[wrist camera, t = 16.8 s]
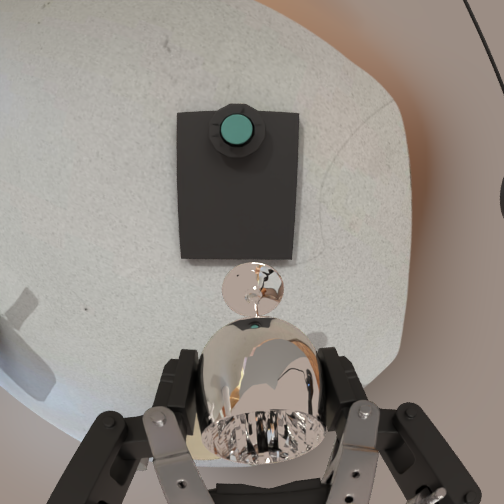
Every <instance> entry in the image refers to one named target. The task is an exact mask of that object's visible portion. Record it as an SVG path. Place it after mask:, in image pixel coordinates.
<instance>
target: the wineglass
mask: <svg viewBox="0 0 504 504" xmlns="http://www.w3.org/2000/svg"><path fill="white" fill-rule="evenodd" d="M283 293H284V284H283V281H282V278H281V276H280V275H279V273H278V272H277V271H276V270H275V269H274V268H272V267H271V266H269V265H267V264H264V263H260V262H247V263H243V264H240V265H238V266H236V267H234V268H233V269H232V270H230V271H229V272H228V274H227V275H226V276H225V278H224V281H223V284H222V296H223V299H224V301H225V303H226V304H227V306H228V307H229V308H230V309H231V310H233V311H234V312H236V313H238V314H240V315H243V316H248V317H245V318H241V319H238V320H235V321H233V322H231V323H229V324H227V325H225V326H224V327H222V328H221V329H219V330H218V331H217V332H216V333H215V334H214V335H213V336H212V337H211V338H210V340H209V341H208V342H207V344H206V345H205V347H204V349H203V351H202V353H201V356H200V359H199V361H198V364H197V369H196V375H195V405H196V413H197V419H198V424H199V429H200V434H201V439H202V443H203V445H204V446H205V448H206V449H208V450H209V451H210V452H211V453H213V454H214V455H216V456H218V457H220V458H223V459H225V460H229V461H233V462H238V463H245V464H270V463H277V462H282V461H286V460H290V459H293V458H296V457H299V456H301V455H303V454H305V453H307V452H309V451H310V450H312V449H314V448H315V447H316V446H318V444H320V442H321V441H322V440H323V438H324V436H325V434H326V424H327V390H326V382H325V375H324V370H323V367H322V364H321V360H320V357H319V355H318V353H317V351H316V349H315V347H314V346H313V344H312V342H311V341H310V340H309V339H308V337H307V336H306V335H305V334H304V333H303V332H302V331H301V330H300V329H299V328H297V327H296V326H294V325H292V324H291V323H289V322H287V321H284V320H281V319H278V318H274V317H269V316H262V315H265V314H267V313H269V312H271V311H272V310H274V309H275V308H276V307H277V306H278V304H279V303H280V302H281V300H282V297H283Z"/></svg>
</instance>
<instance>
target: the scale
mask: <svg viewBox="0 0 504 504" xmlns="http://www.w3.org/2000/svg"><path fill="white" fill-rule="evenodd" d="M236 114H238V115H243V116H245V117H246V118H248V119H249V121H250V122H251V124H252V134H251V136H250V138H249V139H248V140H247V141H246V142H245V143H242V144H231V143H229V142H228V141H226V140H225V139H224V137H223V135H222V133H221V126H222V123H223V122H224V120H225V119H226V118H227V117H229V116H231V115H236ZM298 139H299V113H288V112H271V111H257V110H256V109H254V108H252V107H250V106H248V105H247V104H229V105H227V106H225V107H223V108H221V109H219V110H218V111H198V112H182V113H177V193H178V217H179V235H180V249H181V259H288V260H292V251H293V237H294V222H295V206H296V188H297V167H298Z"/></svg>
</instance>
